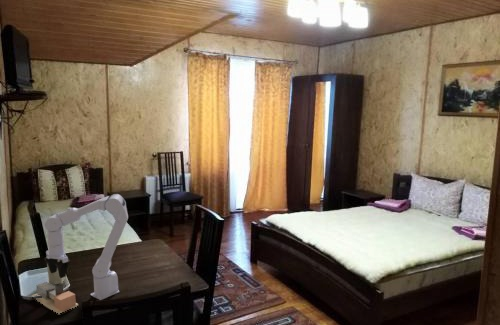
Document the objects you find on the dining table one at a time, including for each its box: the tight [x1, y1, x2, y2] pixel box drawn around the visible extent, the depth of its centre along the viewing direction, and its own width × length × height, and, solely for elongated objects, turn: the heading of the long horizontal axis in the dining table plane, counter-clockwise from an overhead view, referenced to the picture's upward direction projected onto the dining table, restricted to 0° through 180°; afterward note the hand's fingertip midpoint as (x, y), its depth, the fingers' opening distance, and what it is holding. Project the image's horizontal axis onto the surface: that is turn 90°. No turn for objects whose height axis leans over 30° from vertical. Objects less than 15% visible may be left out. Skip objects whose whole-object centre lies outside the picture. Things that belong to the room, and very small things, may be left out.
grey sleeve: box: [36, 281, 55, 300], centre depth 161 cm, size 4×8×4 cm, turn 54°
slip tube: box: [47, 283, 65, 300], centre depth 156 cm, size 2×15×7 cm, turn 54°
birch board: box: [31, 293, 79, 315], centre depth 158 cm, size 8×23×1 cm, turn 54°
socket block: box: [54, 290, 77, 311], centre depth 152 cm, size 6×5×5 cm
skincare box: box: [46, 260, 67, 285], centre depth 175 cm, size 6×4×12 cm
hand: (58, 274), depth 160 cm, fingers open, 7 cm apart
